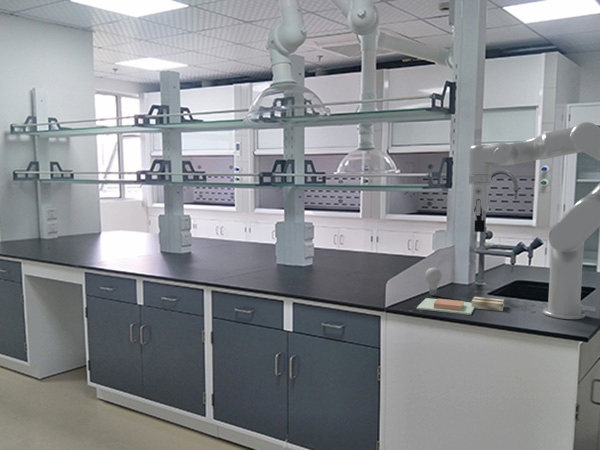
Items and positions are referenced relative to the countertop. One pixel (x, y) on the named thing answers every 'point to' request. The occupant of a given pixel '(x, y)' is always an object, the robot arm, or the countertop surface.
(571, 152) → the robot arm
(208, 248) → the countertop surface
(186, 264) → the countertop surface
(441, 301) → the tile
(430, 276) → the lightbulb
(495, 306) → the stand
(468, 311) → the mat
